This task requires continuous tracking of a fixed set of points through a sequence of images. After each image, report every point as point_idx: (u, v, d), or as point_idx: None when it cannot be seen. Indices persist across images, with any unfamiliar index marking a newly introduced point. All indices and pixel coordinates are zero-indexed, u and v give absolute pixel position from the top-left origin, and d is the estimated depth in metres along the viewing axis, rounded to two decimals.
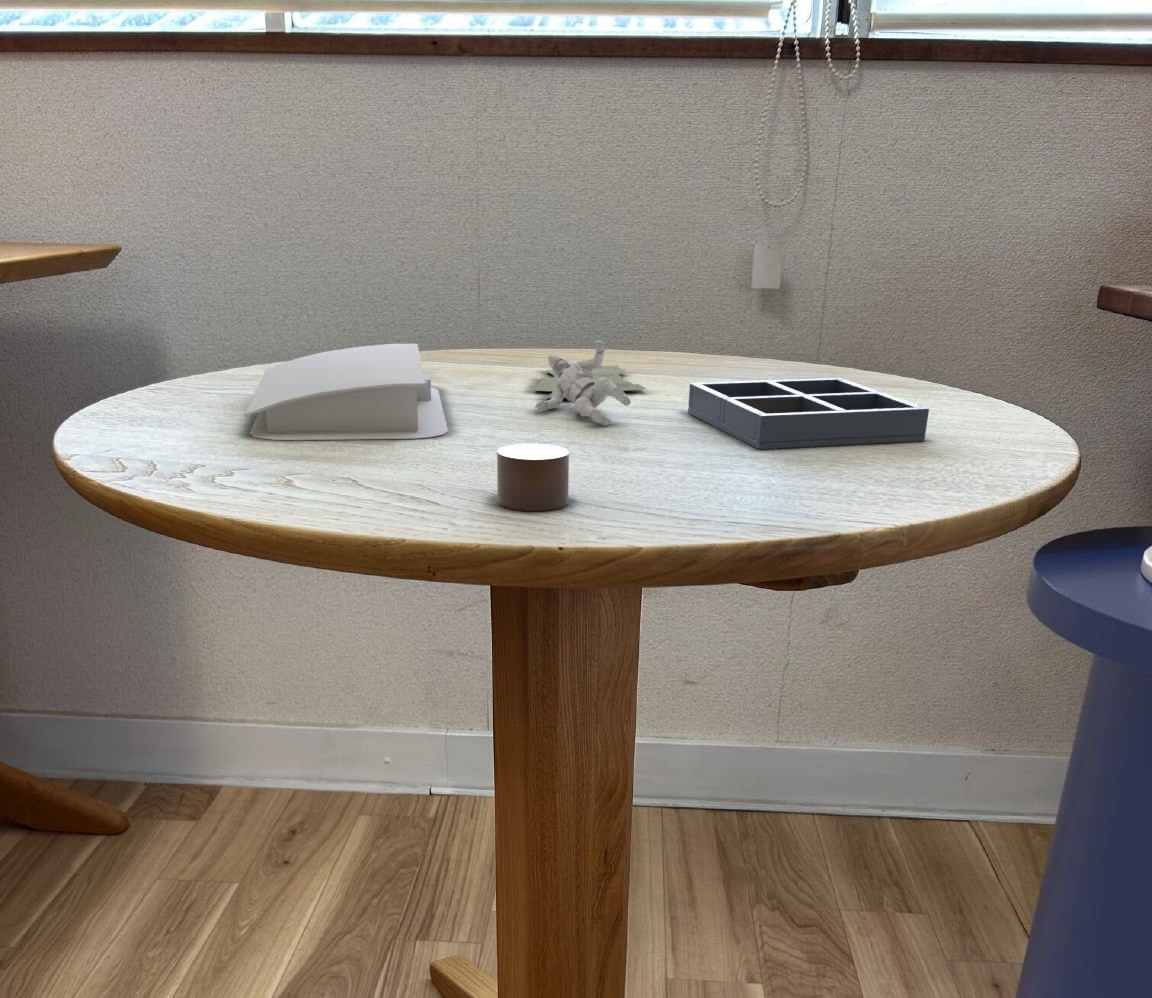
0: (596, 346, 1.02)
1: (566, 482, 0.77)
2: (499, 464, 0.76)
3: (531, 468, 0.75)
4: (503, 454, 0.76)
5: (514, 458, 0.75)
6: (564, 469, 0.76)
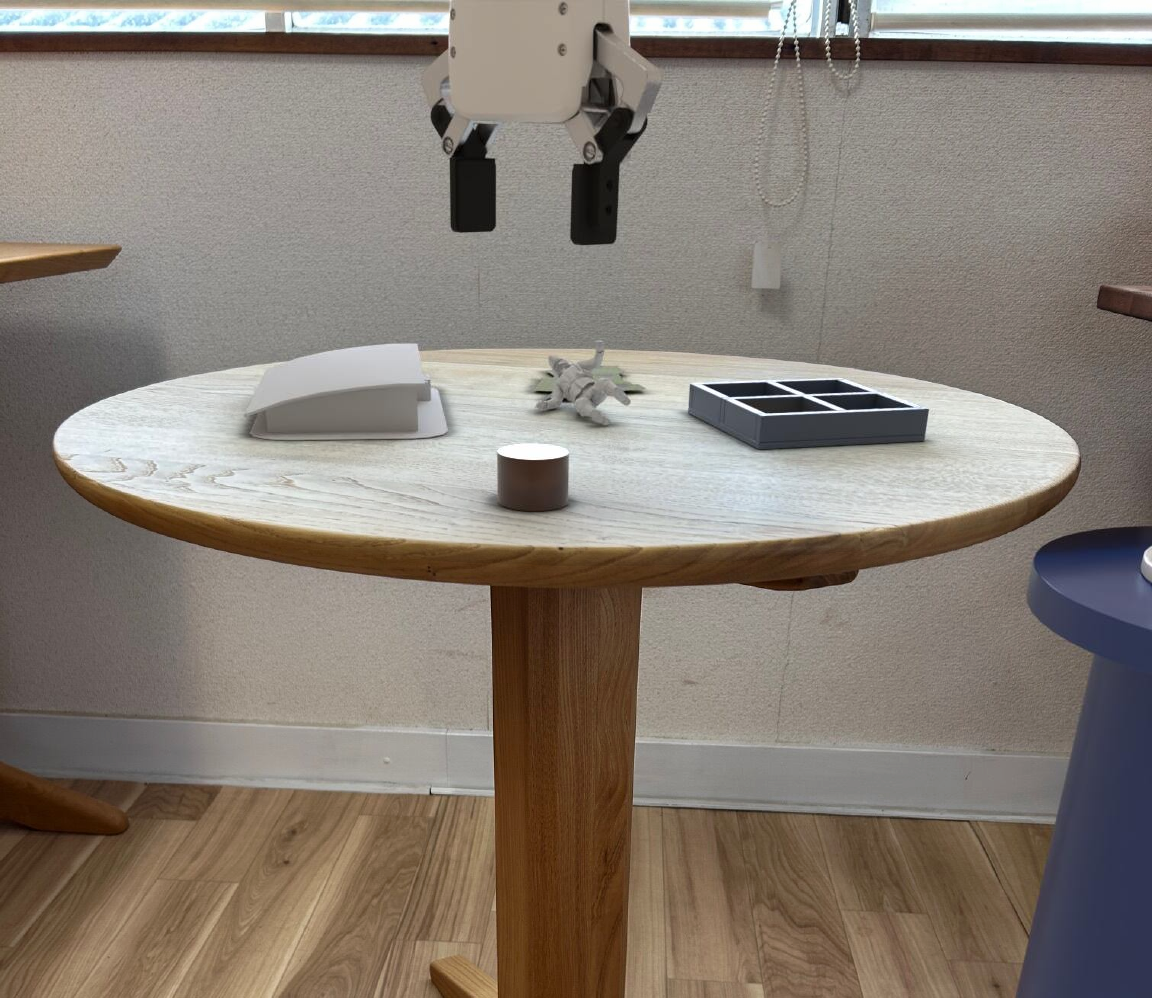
0: (596, 346, 1.02)
1: (566, 482, 0.77)
2: (499, 464, 0.76)
3: (531, 468, 0.75)
4: (503, 454, 0.76)
5: (514, 458, 0.75)
6: (564, 469, 0.76)
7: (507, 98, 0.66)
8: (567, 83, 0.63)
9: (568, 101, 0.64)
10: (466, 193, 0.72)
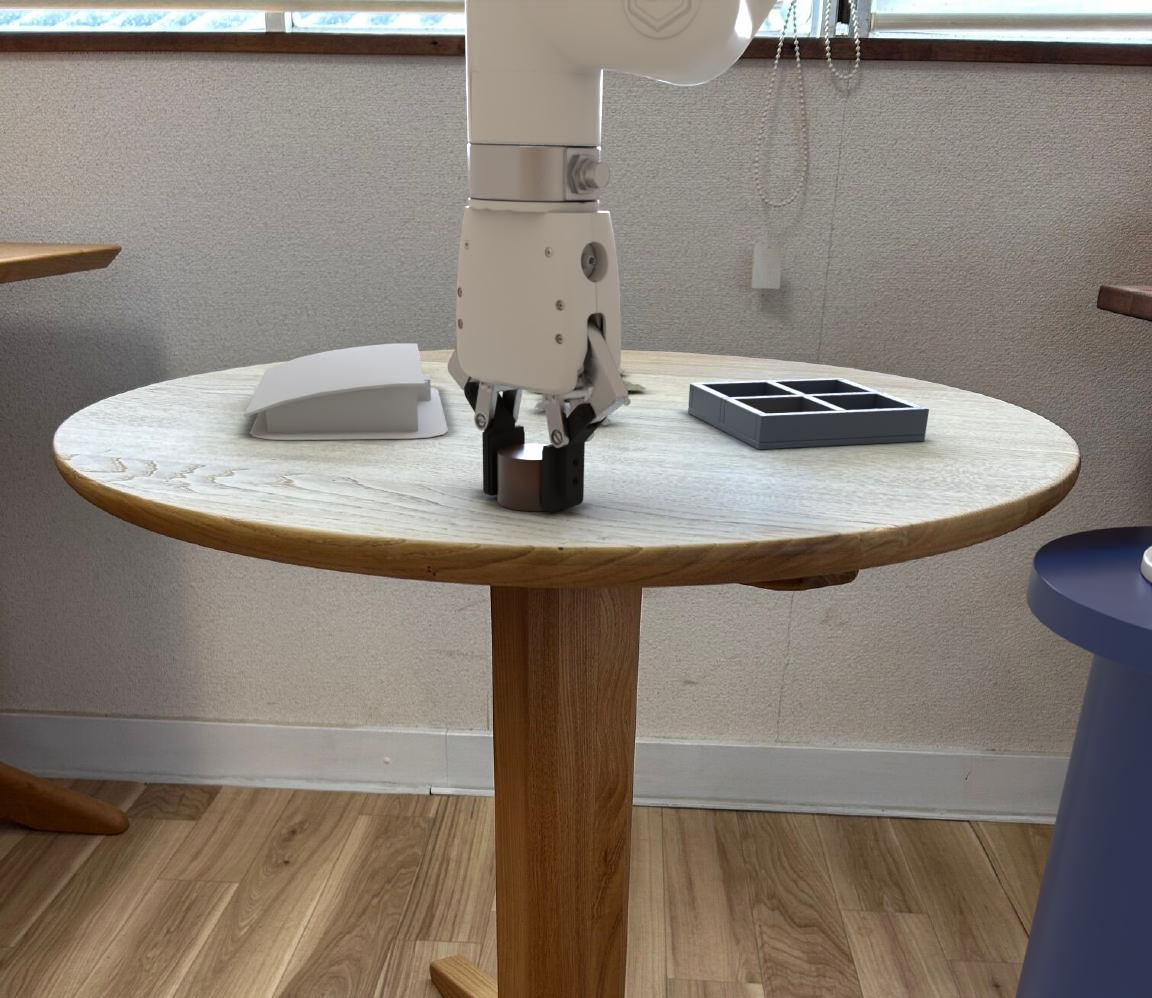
0: None
1: None
2: (499, 464, 0.76)
3: (531, 468, 0.75)
4: (503, 454, 0.76)
5: (514, 458, 0.75)
6: None
7: (509, 371, 0.73)
8: (564, 367, 0.70)
9: (565, 381, 0.70)
10: None
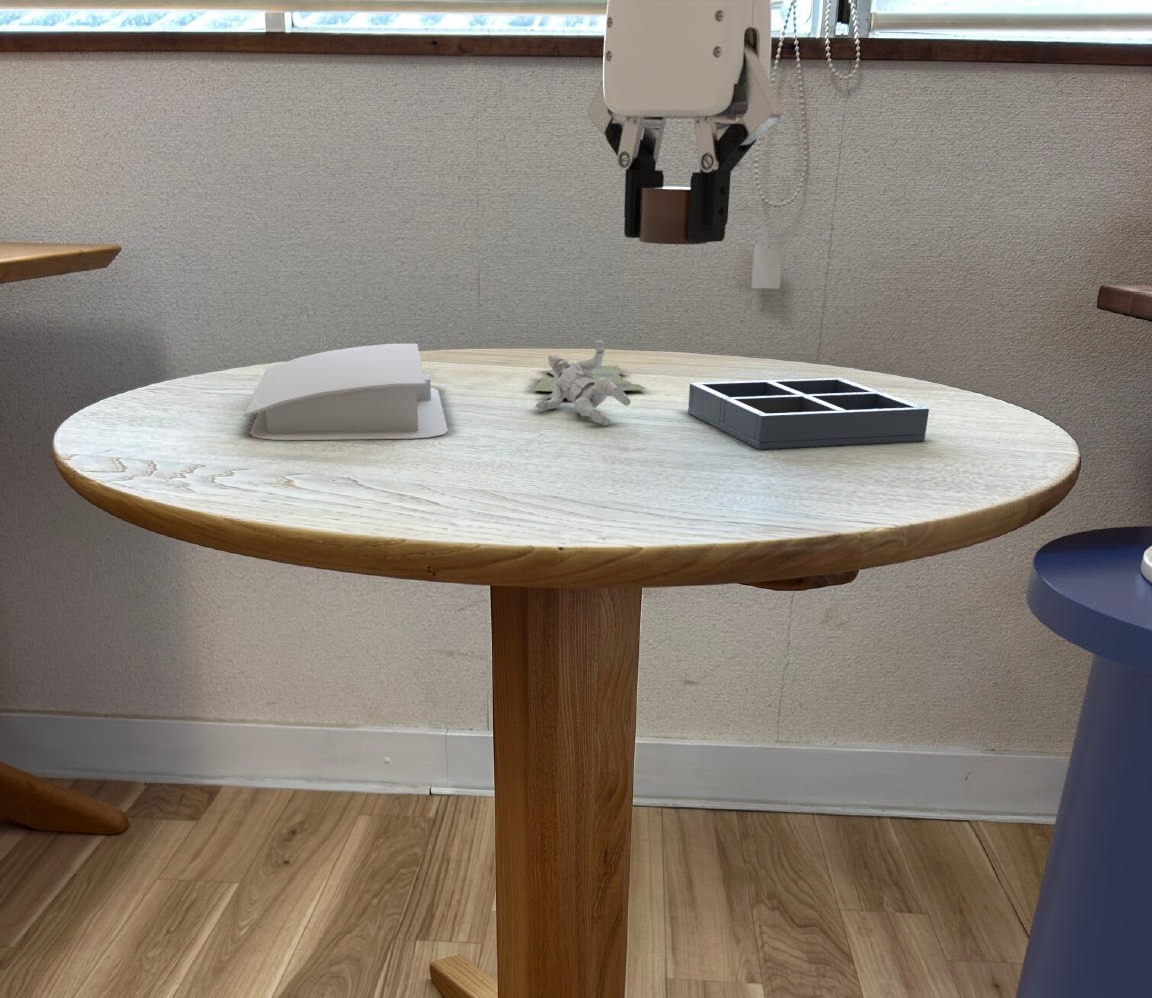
0: (596, 346, 1.02)
1: None
2: (644, 199, 0.78)
3: (678, 198, 0.77)
4: (649, 187, 0.78)
5: (661, 189, 0.77)
6: None
7: (661, 96, 0.75)
8: (721, 81, 0.72)
9: (721, 97, 0.72)
10: (639, 202, 0.80)
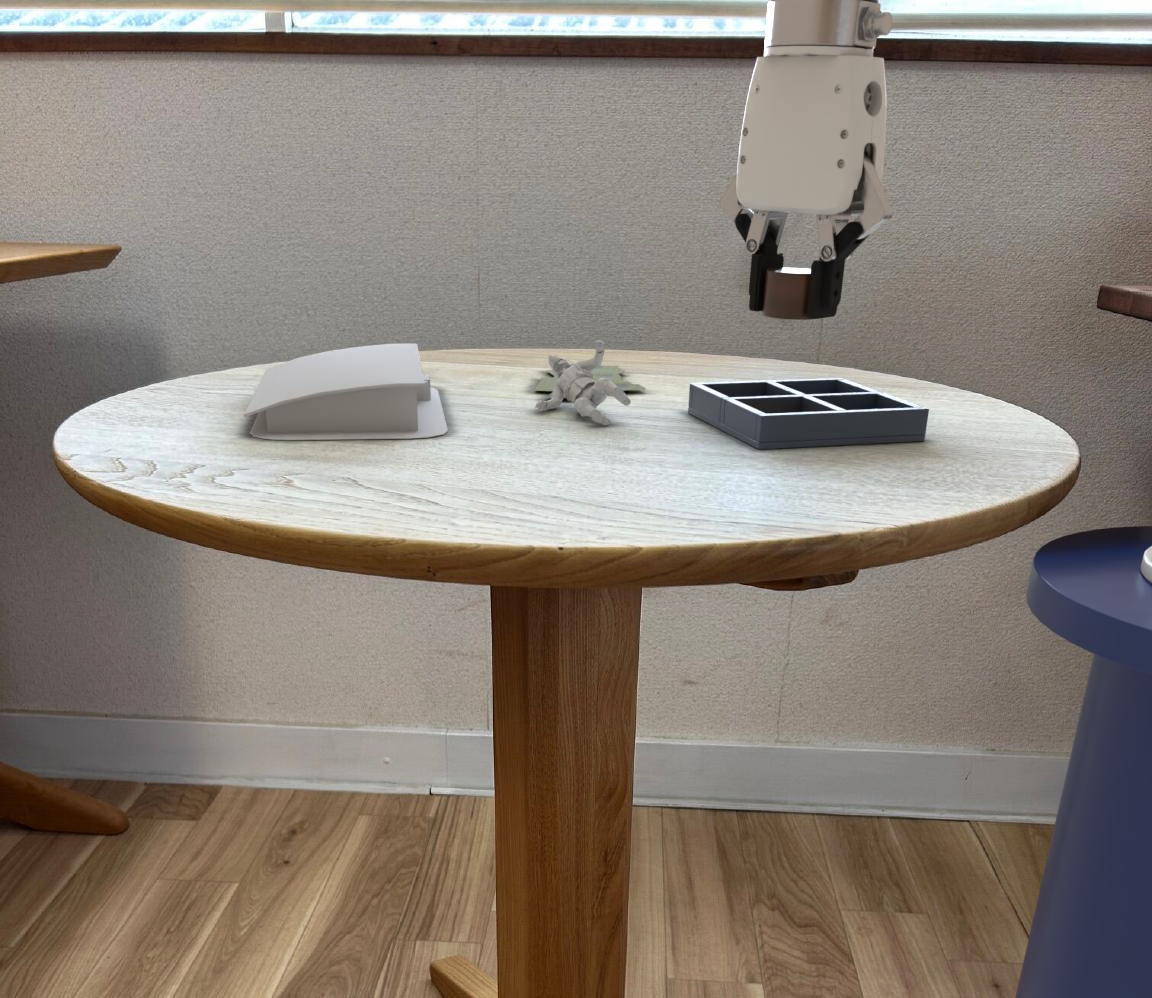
0: (596, 346, 1.02)
1: None
2: (769, 280, 0.91)
3: (799, 281, 0.90)
4: (774, 271, 0.91)
5: (785, 273, 0.90)
6: None
7: (789, 196, 0.88)
8: (843, 188, 0.85)
9: (842, 200, 0.85)
10: (763, 281, 0.93)
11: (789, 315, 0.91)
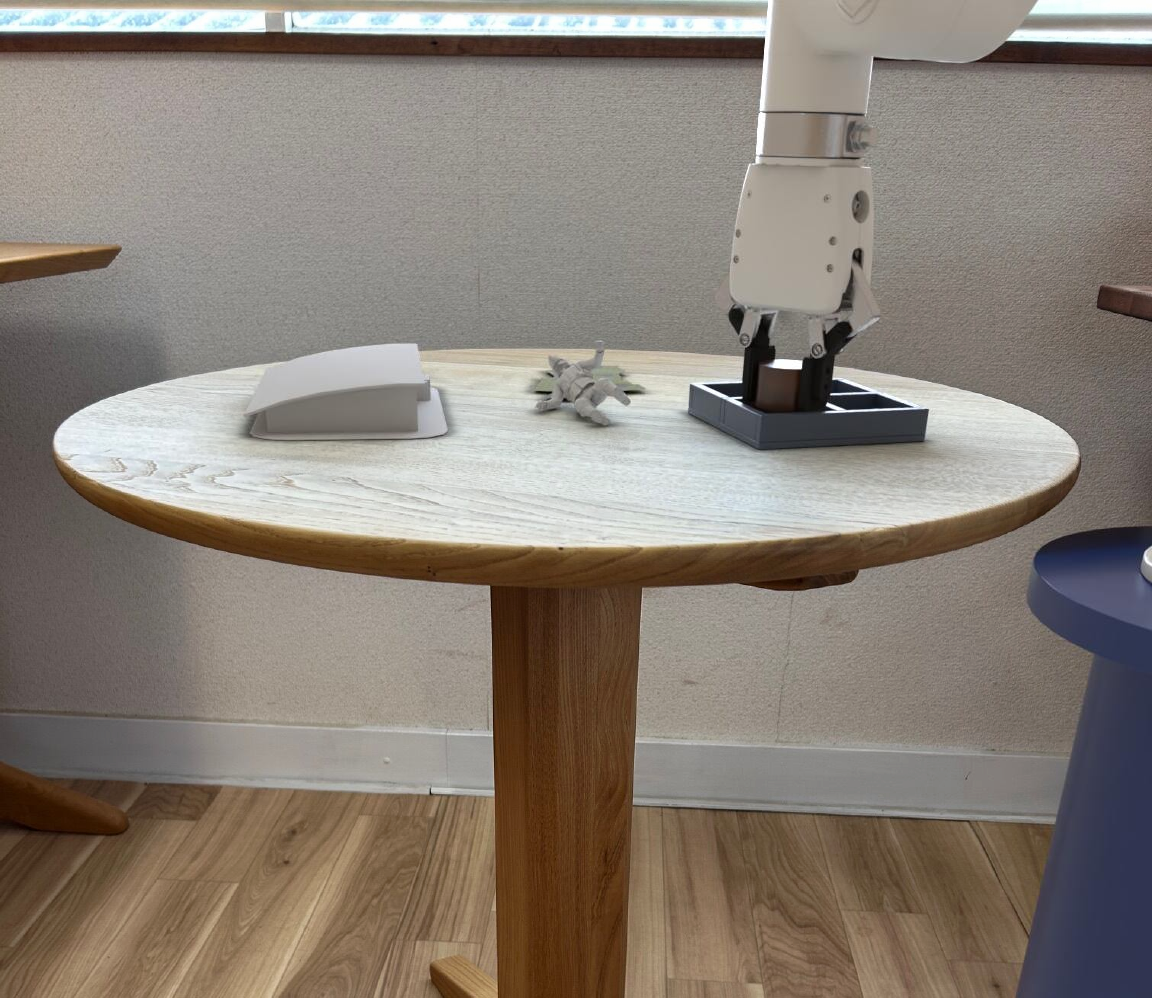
0: (596, 346, 1.02)
1: None
2: (762, 374, 0.94)
3: (791, 376, 0.93)
4: (766, 365, 0.94)
5: (777, 368, 0.93)
6: None
7: (780, 296, 0.91)
8: (832, 291, 0.88)
9: (831, 303, 0.88)
10: (756, 373, 0.96)
11: (781, 408, 0.94)
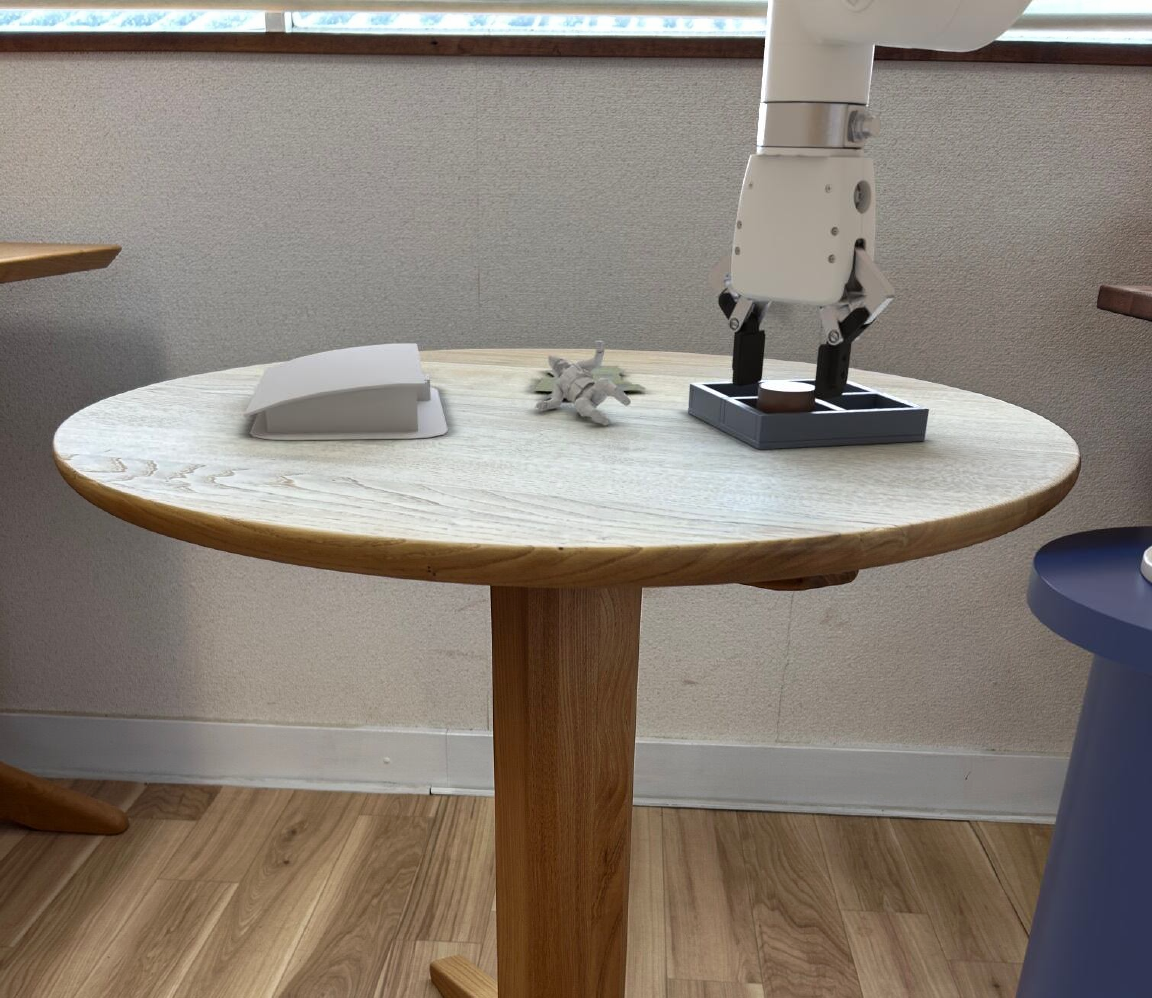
0: (596, 346, 1.02)
1: (813, 411, 0.95)
2: (761, 396, 0.95)
3: (790, 398, 0.94)
4: (766, 388, 0.94)
5: (777, 390, 0.94)
6: (813, 400, 0.95)
7: (782, 287, 0.90)
8: (834, 281, 0.88)
9: (833, 293, 0.88)
10: (746, 358, 0.96)
11: None
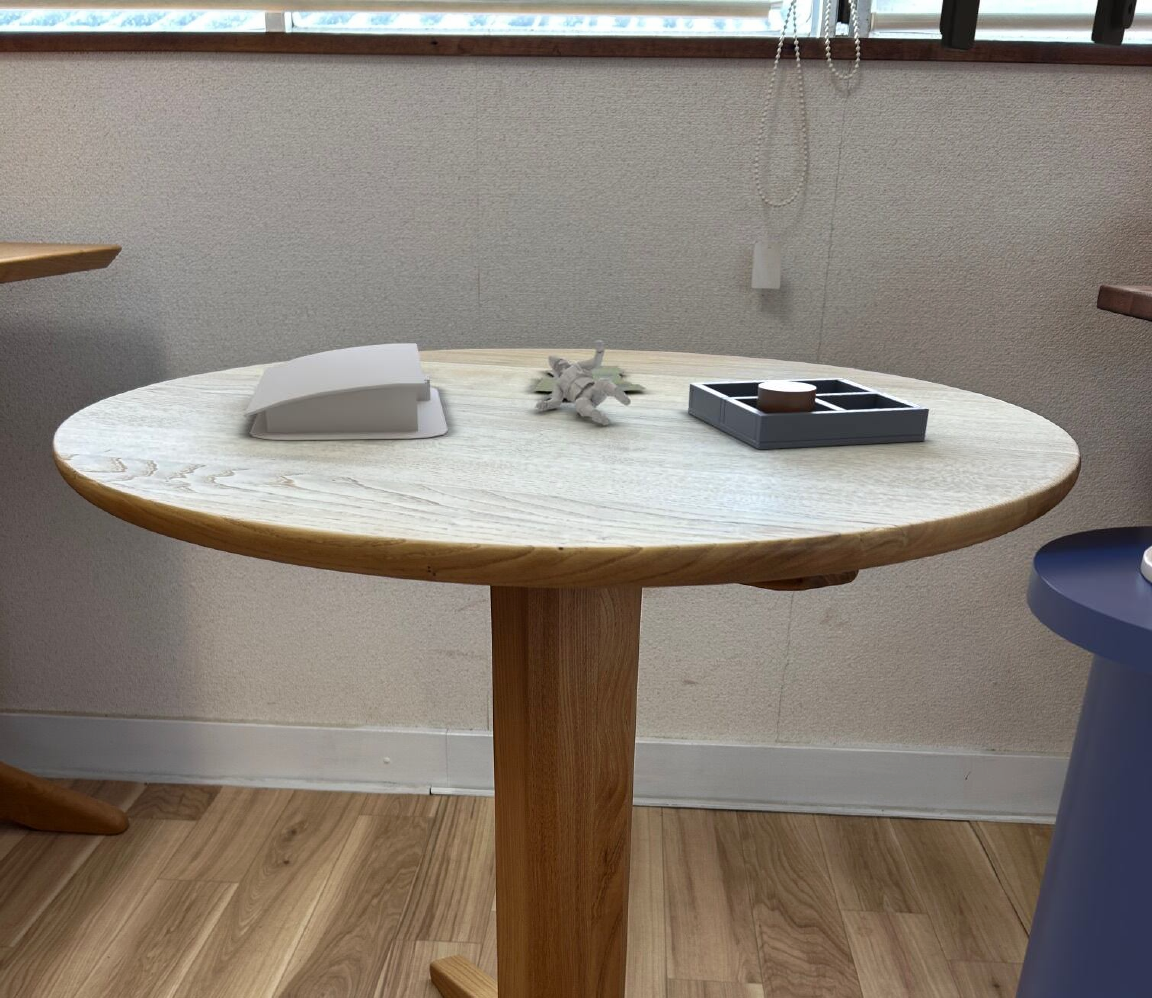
0: (596, 346, 1.02)
1: (813, 411, 0.95)
2: (761, 396, 0.95)
3: (790, 398, 0.94)
4: (766, 388, 0.94)
5: (777, 390, 0.94)
6: (813, 400, 0.95)
7: None
8: None
9: None
10: (960, 9, 0.77)
11: None
